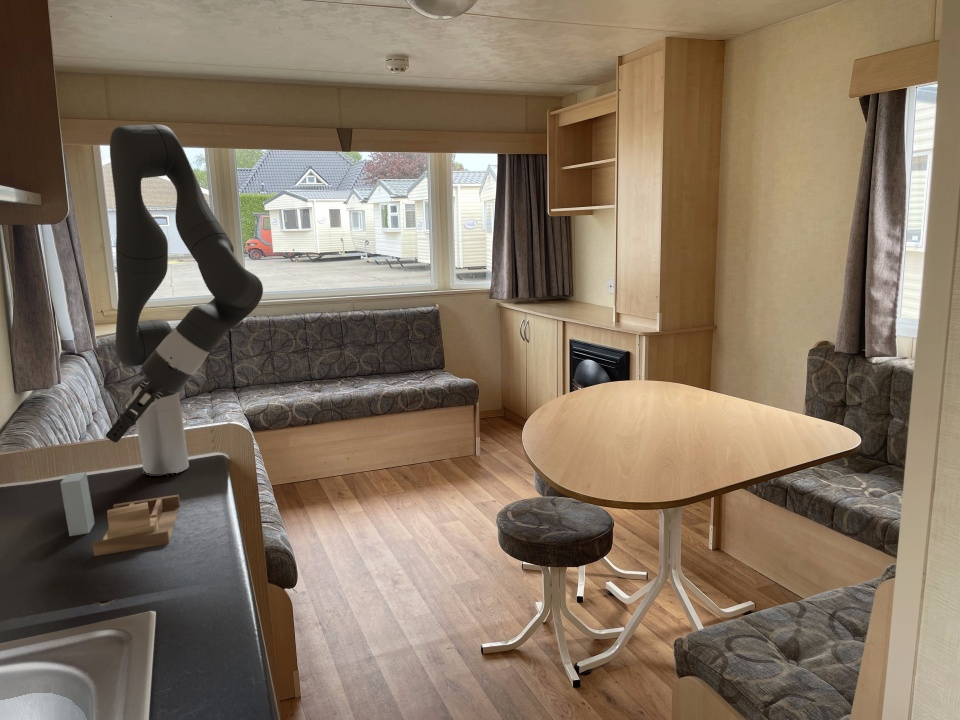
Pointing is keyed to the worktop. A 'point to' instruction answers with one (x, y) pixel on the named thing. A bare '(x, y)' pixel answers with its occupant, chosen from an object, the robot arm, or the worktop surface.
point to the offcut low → (135, 530)
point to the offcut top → (128, 517)
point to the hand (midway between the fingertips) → (115, 432)
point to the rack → (166, 519)
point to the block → (77, 503)
